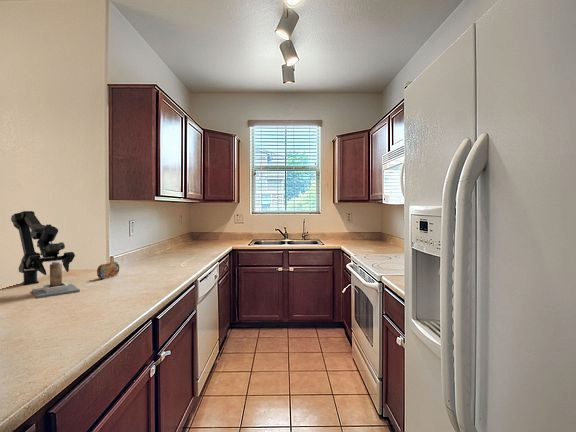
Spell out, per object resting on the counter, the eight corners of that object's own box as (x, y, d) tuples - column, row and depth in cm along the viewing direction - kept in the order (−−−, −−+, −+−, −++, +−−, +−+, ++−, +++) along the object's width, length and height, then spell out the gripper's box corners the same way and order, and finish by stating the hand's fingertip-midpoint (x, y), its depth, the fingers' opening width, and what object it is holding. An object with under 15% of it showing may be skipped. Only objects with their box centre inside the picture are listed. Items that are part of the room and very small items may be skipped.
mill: (51, 288, 157) (51, 261, 156) (62, 287, 159) (62, 261, 158) (48, 290, 153) (48, 263, 152) (60, 290, 154) (60, 262, 154)
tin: (100, 280, 180) (100, 265, 180) (95, 280, 181) (95, 264, 180) (119, 274, 195) (119, 260, 195) (115, 274, 195) (115, 260, 195)
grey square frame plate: (32, 291, 155) (32, 285, 155) (71, 285, 167) (71, 280, 167) (38, 298, 144) (37, 291, 144) (79, 291, 156) (79, 285, 155)
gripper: (28, 238, 149) (38, 265, 143) (73, 235, 165) (84, 259, 159) (21, 254, 154) (31, 280, 148) (66, 250, 169) (76, 273, 164)
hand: (57, 273), depth 154 cm, fingers open, 9 cm apart
